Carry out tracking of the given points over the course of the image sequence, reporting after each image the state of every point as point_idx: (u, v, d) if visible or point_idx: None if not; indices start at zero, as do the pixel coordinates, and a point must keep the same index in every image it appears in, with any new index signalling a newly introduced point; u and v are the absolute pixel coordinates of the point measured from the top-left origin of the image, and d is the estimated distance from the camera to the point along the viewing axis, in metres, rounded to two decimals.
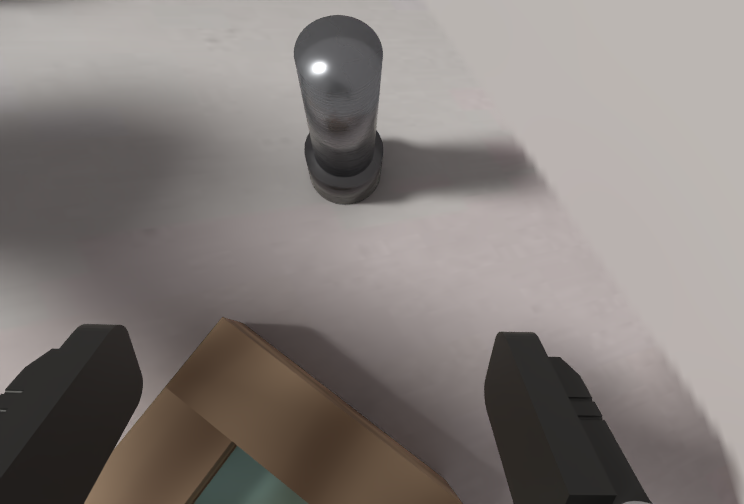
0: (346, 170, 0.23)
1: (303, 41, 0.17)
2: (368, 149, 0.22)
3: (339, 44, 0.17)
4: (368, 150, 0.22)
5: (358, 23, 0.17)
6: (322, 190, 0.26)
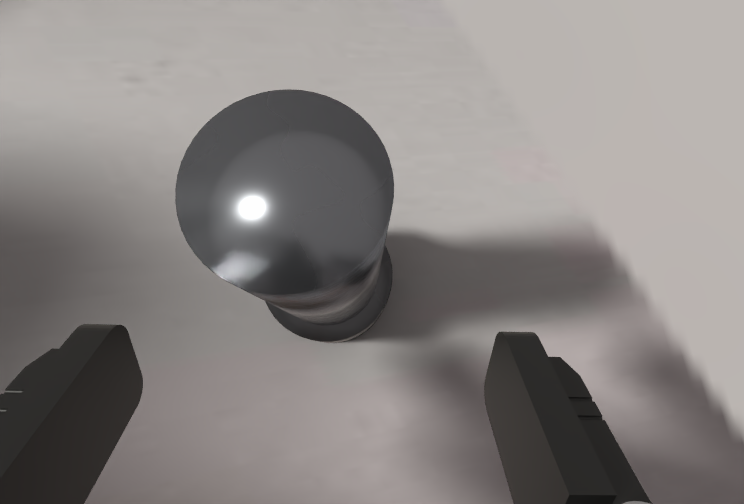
0: (329, 323, 0.13)
1: (200, 159, 0.07)
2: (366, 298, 0.12)
3: (288, 164, 0.07)
4: (366, 298, 0.12)
5: (334, 109, 0.07)
6: None
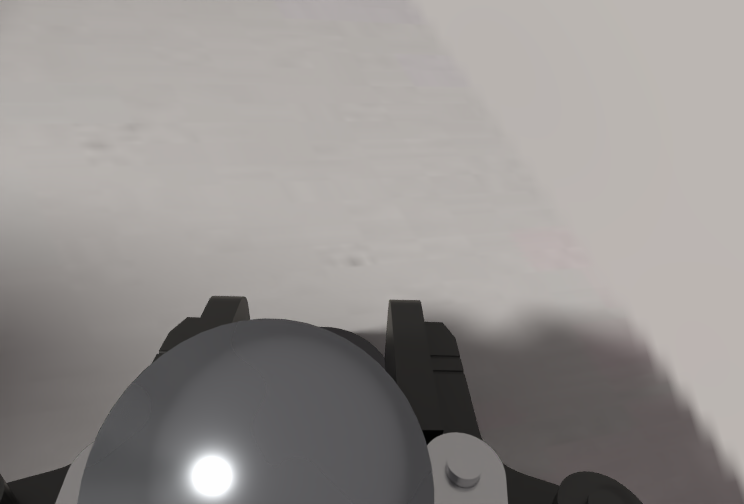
0: None
1: (120, 447, 0.04)
2: None
3: (263, 455, 0.04)
4: None
5: (339, 351, 0.05)
6: None
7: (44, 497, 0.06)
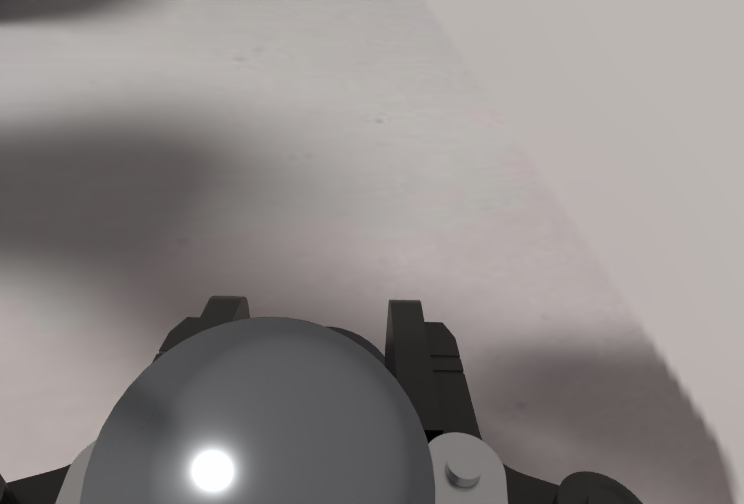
0: None
1: (123, 444, 0.04)
2: None
3: (265, 452, 0.04)
4: None
5: (340, 349, 0.05)
6: None
7: (44, 497, 0.06)
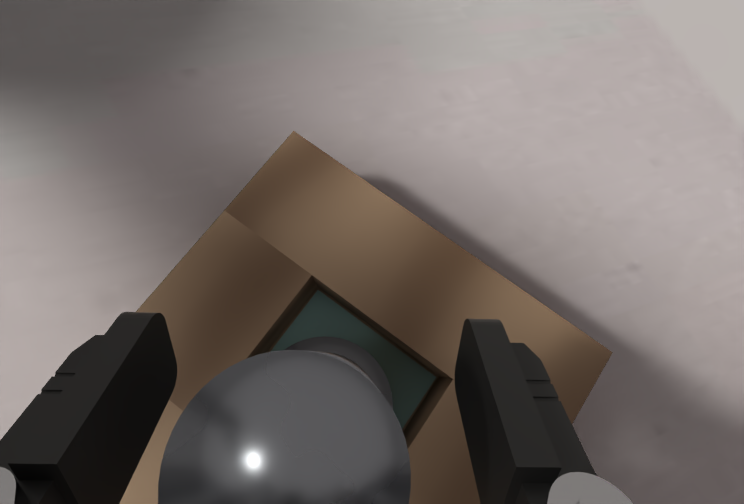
0: None
1: (187, 443, 0.06)
2: None
3: (289, 448, 0.06)
4: None
5: (343, 373, 0.06)
6: None
7: None
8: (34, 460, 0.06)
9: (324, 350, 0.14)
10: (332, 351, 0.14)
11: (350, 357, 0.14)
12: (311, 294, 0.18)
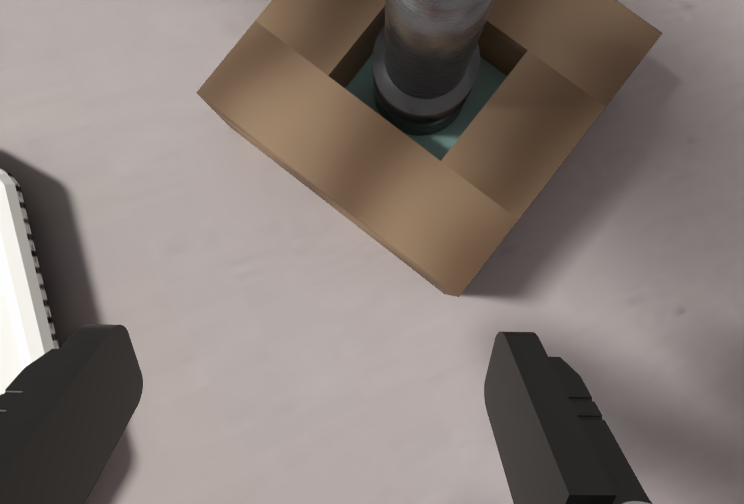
0: (432, 89, 0.17)
1: None
2: (468, 57, 0.16)
3: None
4: (467, 59, 0.16)
5: None
6: (392, 116, 0.20)
7: None
8: None
9: None
10: None
11: None
12: None
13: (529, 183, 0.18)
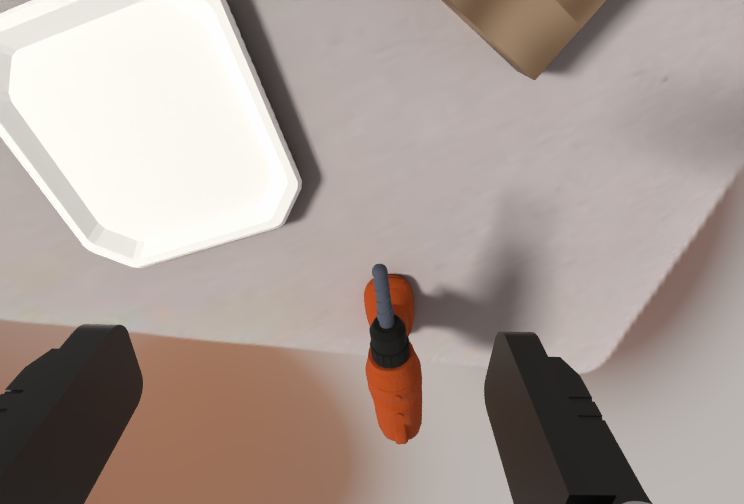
0: None
1: None
2: None
3: None
4: None
5: None
6: None
7: None
8: None
9: None
10: None
11: None
12: None
13: (595, 0, 0.27)
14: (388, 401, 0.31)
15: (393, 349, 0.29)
